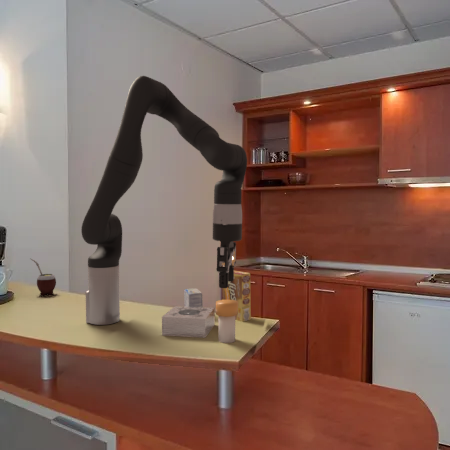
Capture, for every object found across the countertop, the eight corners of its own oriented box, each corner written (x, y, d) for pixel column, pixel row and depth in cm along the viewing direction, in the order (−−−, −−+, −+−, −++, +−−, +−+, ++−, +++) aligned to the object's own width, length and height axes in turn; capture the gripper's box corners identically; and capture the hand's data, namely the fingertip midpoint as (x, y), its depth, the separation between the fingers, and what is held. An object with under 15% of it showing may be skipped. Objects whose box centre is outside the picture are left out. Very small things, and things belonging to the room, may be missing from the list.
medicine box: (203, 320, 135) (203, 293, 134) (189, 321, 133) (188, 293, 133) (197, 314, 142) (197, 288, 142) (184, 315, 141) (183, 288, 140)
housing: (162, 338, 117) (161, 316, 116) (175, 325, 128) (174, 306, 128) (205, 341, 115) (205, 318, 114) (214, 328, 126) (214, 307, 126)
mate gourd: (60, 293, 173) (59, 256, 172) (45, 298, 165) (44, 259, 164) (45, 292, 175) (44, 255, 174) (30, 296, 168) (29, 258, 167)
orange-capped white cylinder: (213, 346, 110) (213, 304, 110) (218, 339, 116) (218, 299, 115) (236, 348, 109) (236, 305, 109) (239, 340, 115) (239, 300, 114)
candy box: (251, 322, 133) (251, 272, 132) (241, 325, 130) (241, 274, 129) (231, 316, 139) (231, 269, 138) (221, 319, 136) (221, 270, 135)
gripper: (218, 220, 118) (217, 278, 119) (206, 223, 104) (206, 289, 105) (245, 220, 117) (244, 280, 118) (237, 223, 103) (236, 291, 104)
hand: (226, 284), depth 112 cm, fingers open, 8 cm apart
